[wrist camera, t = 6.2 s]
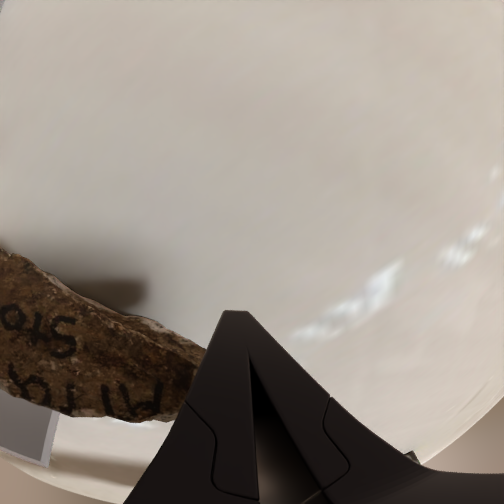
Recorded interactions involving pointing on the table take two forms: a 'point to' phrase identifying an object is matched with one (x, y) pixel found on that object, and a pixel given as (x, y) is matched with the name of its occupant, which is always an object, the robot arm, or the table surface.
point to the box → (26, 426)
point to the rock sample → (87, 352)
